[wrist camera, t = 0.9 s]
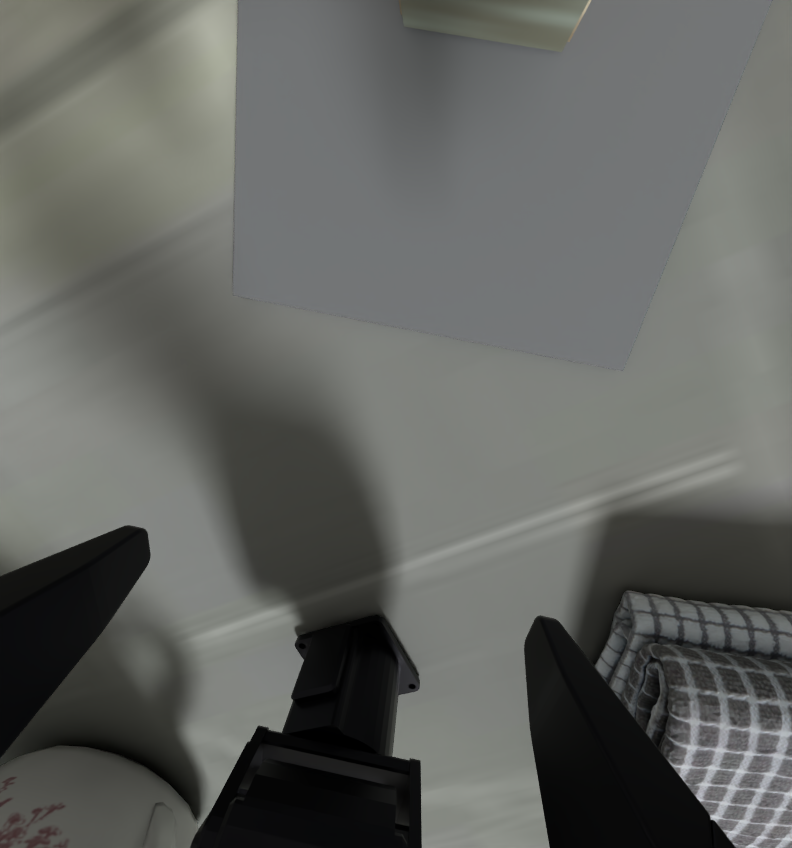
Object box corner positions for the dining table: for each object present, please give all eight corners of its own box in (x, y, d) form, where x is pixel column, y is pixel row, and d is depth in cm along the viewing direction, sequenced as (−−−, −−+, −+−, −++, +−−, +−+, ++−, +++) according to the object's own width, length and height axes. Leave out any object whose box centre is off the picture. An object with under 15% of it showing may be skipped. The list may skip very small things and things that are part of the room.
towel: (902, 601, 20) (1171, 783, 13) (774, 803, 26) (903, 1002, 19) (605, 573, 21) (691, 723, 14) (551, 771, 28) (591, 945, 20)
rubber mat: (617, 368, 17) (623, 371, 17) (239, 295, 18) (232, 295, 17) (956, -489, 9) (989, -540, 9) (259, -559, 10) (248, -609, 9)
